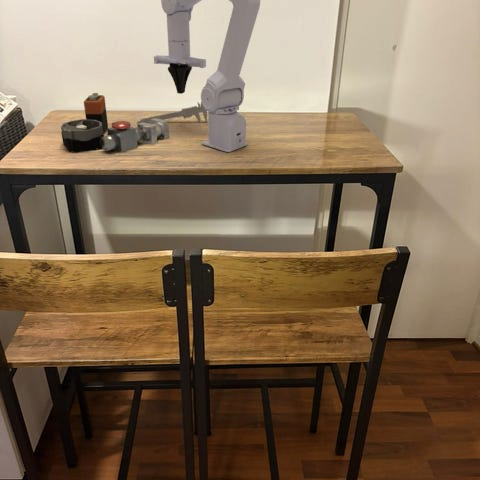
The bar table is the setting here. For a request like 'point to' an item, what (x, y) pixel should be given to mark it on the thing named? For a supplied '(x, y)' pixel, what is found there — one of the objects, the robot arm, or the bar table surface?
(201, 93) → the robot arm
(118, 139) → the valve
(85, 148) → the cpu cooler
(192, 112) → the caliper
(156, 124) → the coupling
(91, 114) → the battery
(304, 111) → the bar table surface
